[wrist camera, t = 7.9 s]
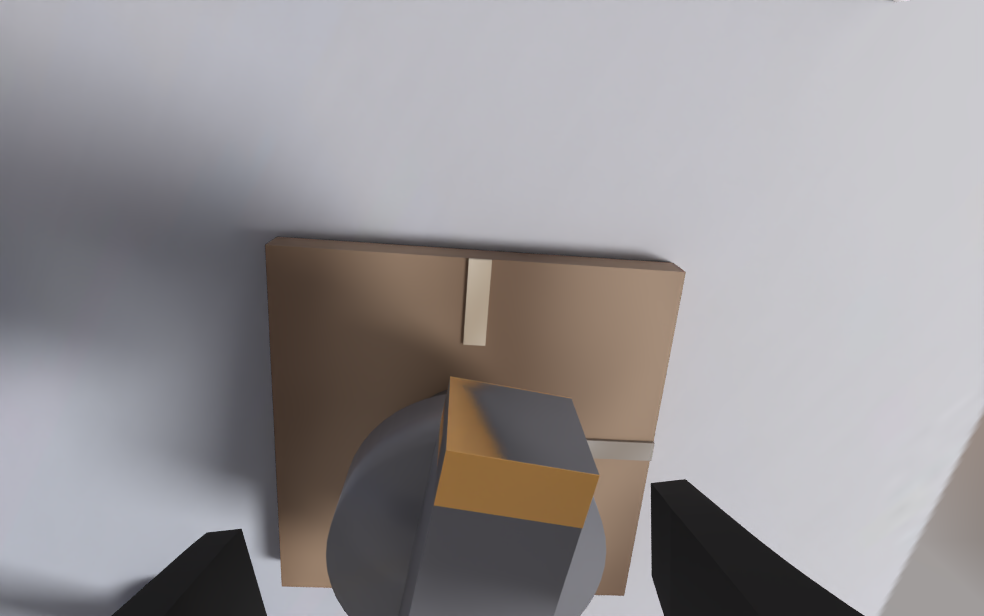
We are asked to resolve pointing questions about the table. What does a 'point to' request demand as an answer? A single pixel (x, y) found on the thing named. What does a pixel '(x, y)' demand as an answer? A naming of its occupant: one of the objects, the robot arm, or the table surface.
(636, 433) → the knob base
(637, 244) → the table surface
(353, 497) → the twist knob
